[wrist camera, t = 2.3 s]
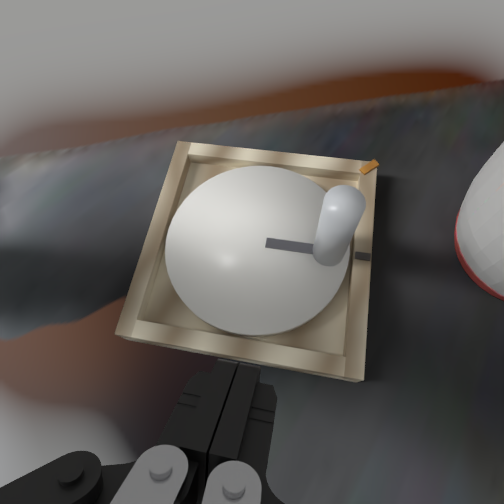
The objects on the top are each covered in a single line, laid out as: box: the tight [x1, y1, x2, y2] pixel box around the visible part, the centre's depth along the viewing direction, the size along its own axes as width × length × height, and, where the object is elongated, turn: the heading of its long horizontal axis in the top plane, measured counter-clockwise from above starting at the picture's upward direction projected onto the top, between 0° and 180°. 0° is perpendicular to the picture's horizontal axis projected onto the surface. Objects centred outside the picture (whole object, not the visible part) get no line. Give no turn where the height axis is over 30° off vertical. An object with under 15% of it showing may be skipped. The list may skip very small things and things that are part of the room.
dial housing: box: [115, 141, 379, 382], centre depth 36 cm, size 22×22×3 cm
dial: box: [165, 166, 366, 337], centre depth 31 cm, size 18×18×10 cm
